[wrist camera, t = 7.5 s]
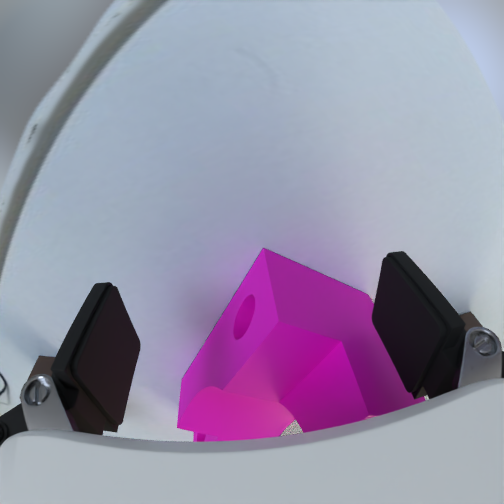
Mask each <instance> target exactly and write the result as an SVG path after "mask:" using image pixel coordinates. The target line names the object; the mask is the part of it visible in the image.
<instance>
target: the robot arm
mask: <svg viewBox="0 0 504 504" xmlns="http://www.w3.org/2000/svg"><path fill="white" fill-rule="evenodd" d="M372 323H373V325H374V327H375V329H376V331H377V333H378V335H379V337H380V338H381V340H382V342H383V344H384V346H385V348H386V350H387V352H388V354H389V356H390V358H391V360H392V362H393V364H394V366H395V368H396V370H397V372H398V374H399V376H400V378H401V380H402V383H403V385H404V387H405V389H406V391H407V392H408V393H411V394H412V396H413V398H414V400H415V399H417V398H420V397H423V396H426V395H428V397H429V400H426V401H424V402H421V403H418V404H415V405H412V406H409V407H406V408H403V409H400V410H397V411H394V412H390V413H387V414H384V415H380V416H377V417H373V418H370V419H366V420H362V421H358V422H354V423H350V424H346V425H341V426H337V427H332V428H327V429H322V430H317V431H311V432H305V433H299V434H293V435H286V436H278V437H270V438H260V439H249V440H235V441H212V442H176V441H154V440H140V439H130V438H120V437H111V436H103V435H102V434H103V430H104V431H111V432H117V430H118V425H121V424H122V422H123V418H124V414H125V409H126V405H127V400H128V396H129V391H130V387H131V383H132V379H133V375H134V371H135V367H136V363H137V359H138V356H139V352H140V340H139V338H138V336H137V333H136V331H135V329H134V327H133V325H132V322H131V320H130V318H129V315H128V313H127V311H126V308H125V306H124V303H123V301H122V298H121V296H120V293H119V291H118V289H117V287H116V286H113V285H112V284H111V283H110V282H107V283H96V284H95V285H94V286H93V288H92V289H91V291H90V293H89V295H88V296H87V298H86V300H85V302H84V303H83V305H82V307H81V309H80V311H79V312H78V314H77V316H76V318H75V320H74V322H73V324H72V325H71V327H70V329H69V331H68V333H67V335H66V337H65V339H64V341H63V343H62V345H61V347H60V349H59V351H58V353H57V355H56V357H55V360H54V362H53V364H52V366H51V368H50V369H51V371H52V372H53V373H52V375H51V377H50V376H49V375H46V374H37V375H35V376H33V377H31V378H30V379H29V380H28V381H27V382H26V383H25V384H24V386H23V388H22V390H21V394H20V398H21V404H19V405H17V406H16V407H14V408H13V409H11V410H10V411H8V412H7V413H5V414H3V415H2V416H0V504H504V352H503V351H502V347H501V342H500V340H499V338H498V337H497V336H496V335H495V333H493V332H492V331H491V330H489V329H487V328H484V327H473V328H471V329H469V330H468V332H467V331H466V330H465V329H464V327H465V325H466V323H465V322H464V321H463V319H462V318H461V317H460V316H459V314H458V313H457V312H456V311H455V309H454V308H453V307H452V306H451V304H450V303H449V302H448V301H447V300H446V298H445V297H444V296H443V295H442V294H441V292H440V291H439V290H438V289H437V288H436V286H435V285H434V284H433V283H432V282H431V281H430V280H429V278H428V277H427V276H426V275H425V274H424V273H423V272H422V271H421V269H420V268H419V267H418V266H417V265H416V264H415V263H414V262H413V261H412V260H411V258H410V257H409V256H408V255H407V254H406V253H405V252H403V251H400V252H392V253H388V254H387V256H386V257H385V258H384V259H383V261H382V266H381V272H380V278H379V283H378V288H377V293H376V298H375V302H374V307H373V312H372Z"/></svg>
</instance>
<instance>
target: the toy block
mask: <svg viewBox="0 0 504 504" xmlns="http://www.w3.org/2000/svg"><path fill="white" fill-rule="evenodd" d="M373 307H374V304H373V302H372V300H371V299H370V297H369V295H368V294H366V293H363V292H361V291H359V290H357V289H355V288H352V287H350V286H348V285H346V284H343V283H341V282H339V281H337V280H335V279H332V278H330V277H328V276H326V275H323V274H321V273H319V272H317V271H314V270H312V269H310V268H308V267H305V266H303V265H301V264H299V263H297V262H294V261H292V260H290V259H288V258H285V257H283V256H281V255H279V254H276V253H274V252H272V251H269V250H267V249H265V248H263V249H262V251H261V253H260V254H259V256H258V257H257V259H256V261H255V262H254V264H253V266H252V267H251V269H250V270H249V272H248V274H247V275H246V277H245V279H244V280H243V282H242V283H241V285H240V287H239V288H238V290H237V292H236V293H235V295H234V296H233V298H232V300H231V301H230V303H229V305H228V306H227V308H226V309H225V311H224V313H223V314H222V316H221V317H220V319H219V321H218V322H217V324H216V326H215V327H214V329H213V330H212V332H211V334H210V335H209V337H208V338H207V340H206V342H205V343H204V345H203V346H202V348H201V350H200V351H199V353H198V354H197V356H196V358H195V359H194V361H193V362H192V364H191V366H190V367H189V369H188V370H187V372H186V374H185V375H184V377H183V378H182V382H181V392H180V401H179V411H178V422H177V428H180V429H184V430H189V431H193V432H194V439H193V442H212V441H235V440H249V439H260V438H270V437H278V436H280V435H281V433H282V432H283V431H284V430H285V429H286V428H287V426H288V425H290V424H291V423H292V422H293V421H294V420H295V419H296V420H297V422H298V424H299V426H300V427H301V429H302V431H303V433H305V432H311V431H317V430H322V429H327V428H332V427H337V426H341V425H346V424H350V423H354V422H358V421H362V420H366V419H370V418H373V417H377V416H380V415H384V414H387V413H390V412H394V411H397V410H400V409H403V408H406V407H409V406H412V405H415V404H418V403H421V402H424V401H426V400H425V398H424V396H423V397H420V398H417V399H415V400H414V398H413V396H412V394H411V393H408V392H407V391H406V389H405V387H404V385H403V383H402V380H401V378H400V376H399V374H398V372H397V370H396V368H395V366H394V364H393V362H392V360H391V358H390V356H389V354H388V352H387V350H386V348H385V346H384V344H383V342H382V340H381V338H380V337H379V335H378V333H377V331H376V329H375V327H374V325H373V323H372V312H373Z"/></svg>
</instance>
